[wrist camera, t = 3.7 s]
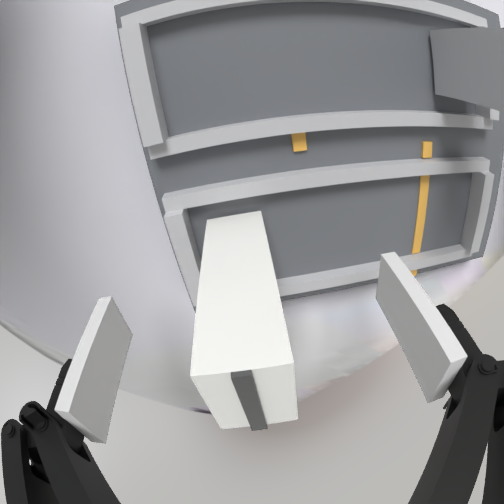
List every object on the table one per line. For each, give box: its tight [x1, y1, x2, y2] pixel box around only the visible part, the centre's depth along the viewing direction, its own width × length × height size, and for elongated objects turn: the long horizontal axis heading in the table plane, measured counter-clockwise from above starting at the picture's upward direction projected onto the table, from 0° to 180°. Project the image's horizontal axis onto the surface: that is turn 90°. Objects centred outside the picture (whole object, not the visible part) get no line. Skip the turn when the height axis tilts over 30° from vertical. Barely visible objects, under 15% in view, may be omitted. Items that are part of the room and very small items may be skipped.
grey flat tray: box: [114, 0, 504, 313], centre depth 15 cm, size 24×20×3 cm
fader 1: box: [190, 211, 298, 431], centre depth 13 cm, size 3×4×10 cm
